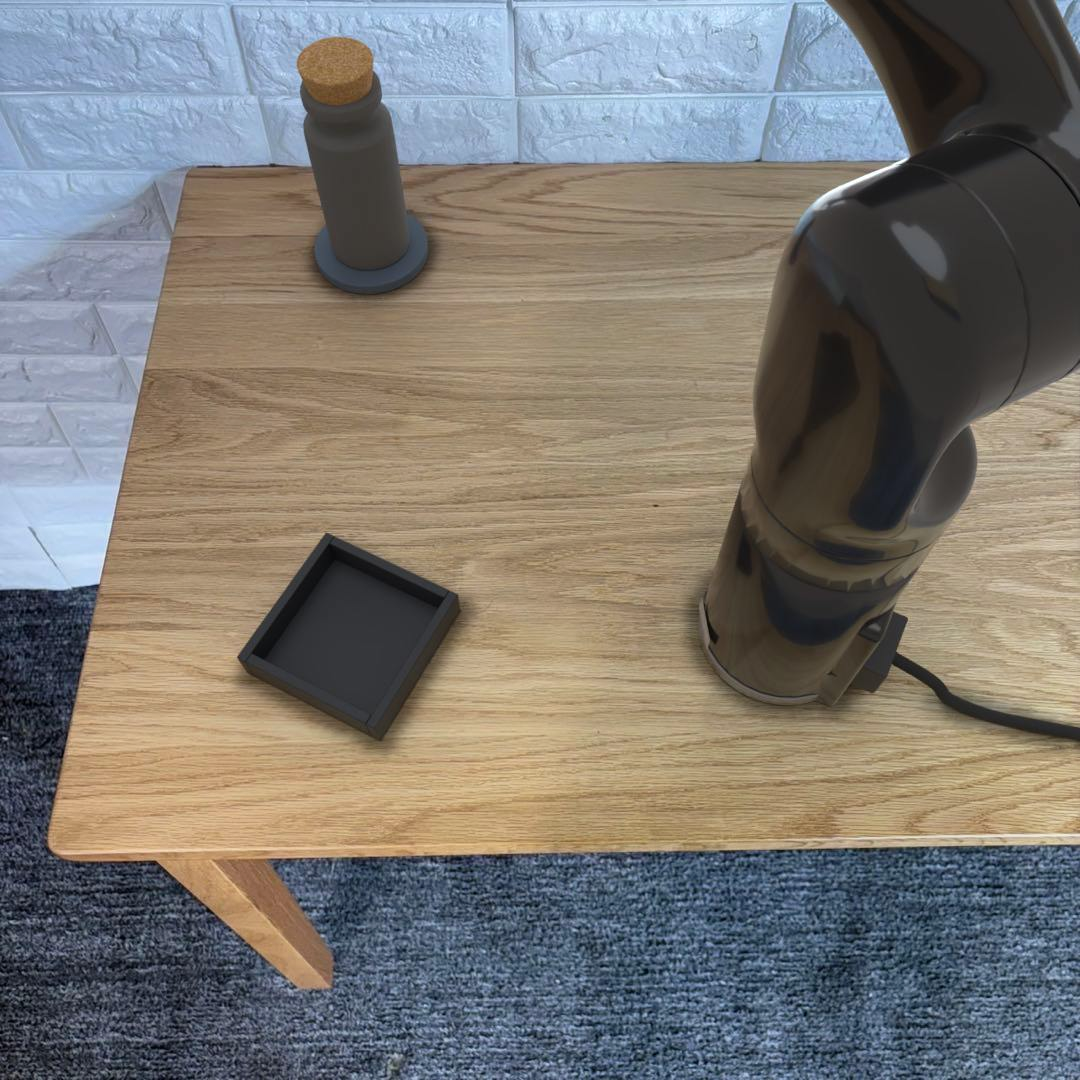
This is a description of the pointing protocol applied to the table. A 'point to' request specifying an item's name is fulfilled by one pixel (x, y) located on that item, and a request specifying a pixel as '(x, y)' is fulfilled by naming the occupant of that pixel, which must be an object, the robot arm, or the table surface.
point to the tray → (351, 635)
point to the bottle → (353, 153)
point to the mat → (373, 279)
